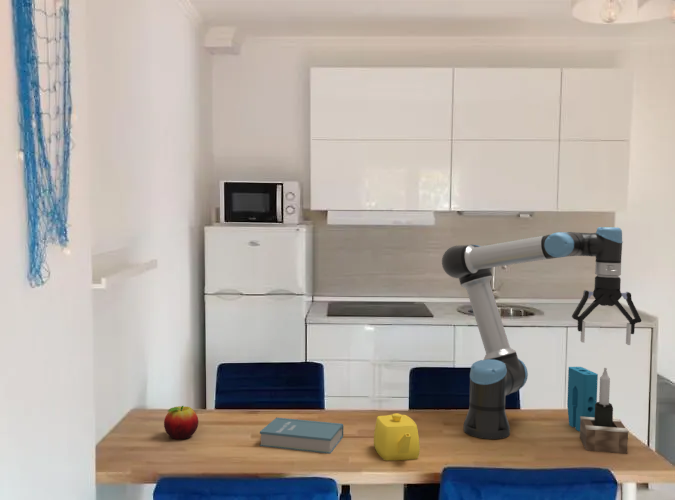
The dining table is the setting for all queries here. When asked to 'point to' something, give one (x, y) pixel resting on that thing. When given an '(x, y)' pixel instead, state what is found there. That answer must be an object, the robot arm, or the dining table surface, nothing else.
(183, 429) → the fruit
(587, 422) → the holder
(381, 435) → the teapot
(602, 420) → the grey and black rod
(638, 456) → the dining table surface
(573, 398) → the block
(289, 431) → the book
